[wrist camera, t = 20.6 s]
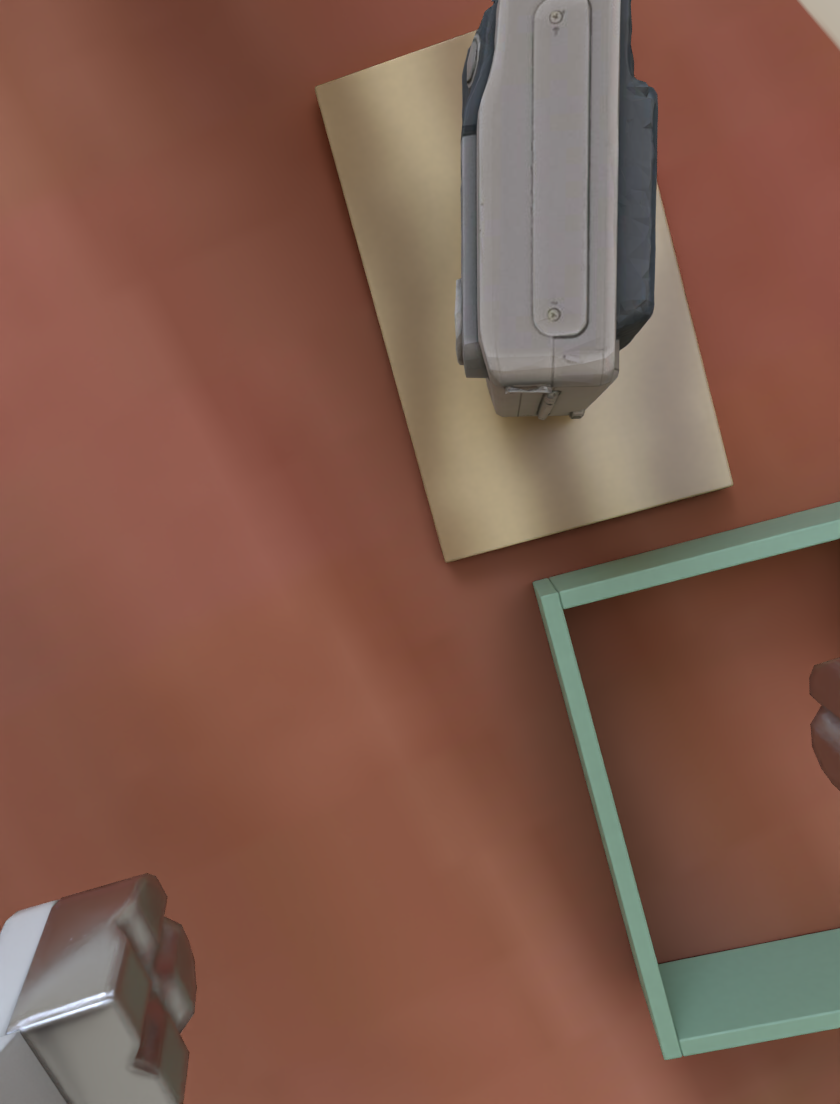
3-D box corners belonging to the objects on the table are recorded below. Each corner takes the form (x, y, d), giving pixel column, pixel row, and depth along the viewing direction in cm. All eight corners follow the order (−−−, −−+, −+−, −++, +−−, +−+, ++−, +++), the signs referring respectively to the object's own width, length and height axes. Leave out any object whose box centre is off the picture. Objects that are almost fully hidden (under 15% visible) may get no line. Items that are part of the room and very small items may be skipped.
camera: (469, 132, 29) (460, -55, 19) (617, 129, 29) (686, -64, 19) (460, 423, 30) (447, 389, 20) (603, 426, 29) (662, 392, 20)
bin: (640, 982, 32) (664, 1061, 28) (532, 581, 31) (539, 596, 27) (981, 915, 31) (1065, 987, 26) (878, 491, 30) (947, 490, 25)
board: (446, 561, 32) (445, 563, 31) (319, 99, 30) (313, 85, 29) (726, 485, 30) (734, 485, 29) (603, 0, 29) (607, -18, 28)
